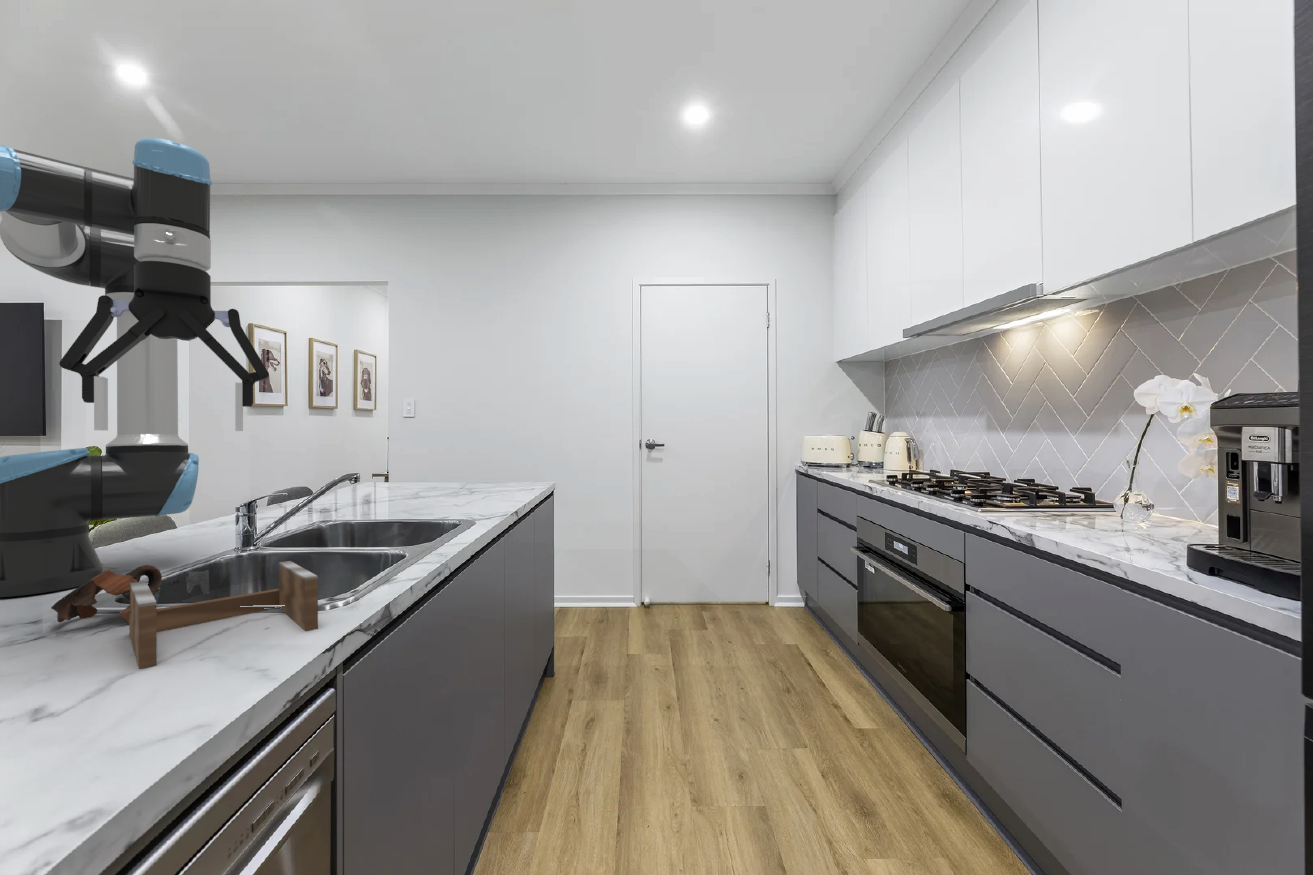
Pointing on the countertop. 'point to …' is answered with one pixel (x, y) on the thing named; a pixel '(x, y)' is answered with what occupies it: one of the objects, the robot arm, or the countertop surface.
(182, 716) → the countertop surface
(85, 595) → the pottery mug
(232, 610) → the wooden stand
